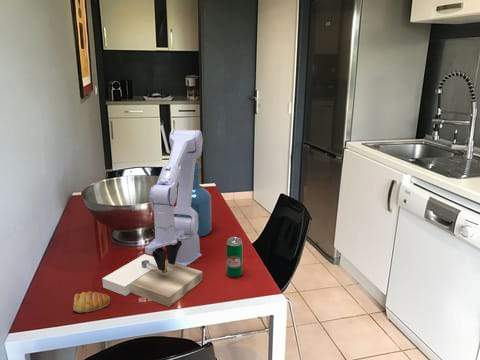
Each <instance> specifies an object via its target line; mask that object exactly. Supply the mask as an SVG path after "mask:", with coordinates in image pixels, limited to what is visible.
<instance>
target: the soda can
mask: <svg viewBox="0 0 480 360" xmlns="http://www.w3.org/2000/svg"><path fill="white" fill-rule="evenodd" d="M243 244H244V243H243V241H242V238H241V237H237V236H230V237H228V238H227V241H226V243H225V246H226V247H225V248H226V250H225V252H226V253H225V254H226V255H225V257H226V260H225V261H226V264H225V266H226V272H225V273H226V275H227V276H228V277H230V278H234V279H236V278H240V277H241V276H242V275H243V252H244V251H243V248H244V247H243V246H244V245H243Z"/></svg>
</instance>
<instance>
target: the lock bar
mask: <svg viewBox="0 0 480 360" xmlns="http://www.w3.org/2000/svg"><path fill="white" fill-rule="evenodd" d="M142 267H147V268H149V269H151V270H153V271H155V272H156V273H158V274H160V275H162V276H164V277H166V276H168V271H167V257H166V259H165V270H164V271H161V270H159V269H158V267H157V266H155V265H153V264H151V263H149V261H148V260H144V261H142Z"/></svg>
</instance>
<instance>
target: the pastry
mask: <svg viewBox="0 0 480 360" xmlns="http://www.w3.org/2000/svg"><path fill="white" fill-rule="evenodd" d="M110 302H111V296H109V295H108V294H106V293H103V292H98V291H95V292H93V291H91V290H90V291H88V292H86V291H82V292H81V293H76V294H75V295H74V297H73V307H72V308H73V309H72V311H74V312H77V313H79V314H82V313H90V312H95V311H98V310H101V309H104V308H105V307H107V306H109V305H110Z"/></svg>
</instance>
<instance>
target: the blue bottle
mask: <svg viewBox="0 0 480 360" xmlns="http://www.w3.org/2000/svg"><path fill="white" fill-rule="evenodd" d="M197 159H198V158H196V163H195V171H194V181H193V190H192V200H191V207H192V208H193V209H194V210H195V211H196V212H197V213H198V231H197V234H198V236H199V238H202V237H206V236H208V235H209V234H210V233H211V232H212V229H213V227H212V196H211V194H210V192H209V191H208V189H205V187H203V186H202V185H200V168H199V167H200V166H199V161H198V160H197ZM177 216H185V217H191V216H189V215H177Z"/></svg>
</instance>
